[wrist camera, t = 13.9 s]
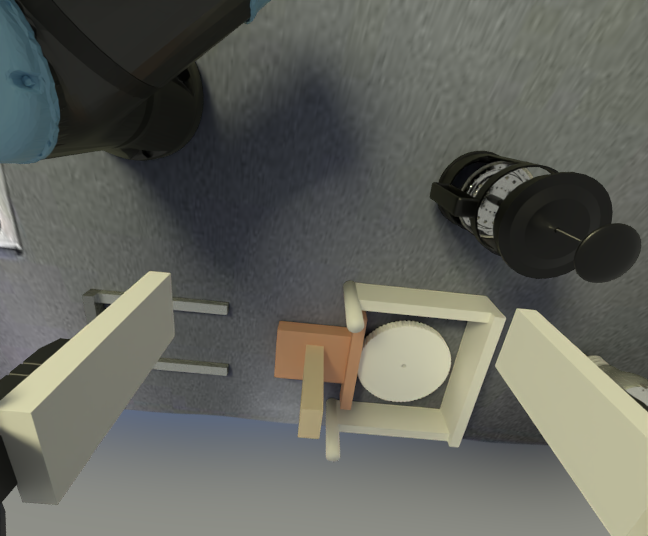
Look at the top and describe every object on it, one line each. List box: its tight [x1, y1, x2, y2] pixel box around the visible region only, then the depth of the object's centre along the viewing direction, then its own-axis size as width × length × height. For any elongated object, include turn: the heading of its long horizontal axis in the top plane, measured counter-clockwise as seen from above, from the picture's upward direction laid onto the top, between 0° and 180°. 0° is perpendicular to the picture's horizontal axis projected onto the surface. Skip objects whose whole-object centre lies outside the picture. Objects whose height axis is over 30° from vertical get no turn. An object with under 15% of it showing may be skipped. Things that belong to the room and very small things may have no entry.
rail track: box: [82, 289, 229, 376], centre depth 51 cm, size 20×12×2 cm, turn 84°
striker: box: [274, 310, 367, 439], centre depth 46 cm, size 12×16×14 cm
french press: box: [430, 151, 641, 283], centre depth 33 cm, size 12×9×23 cm
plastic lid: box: [357, 320, 451, 402], centre depth 53 cm, size 14×14×2 cm
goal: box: [326, 281, 506, 462], centre depth 49 cm, size 20×24×10 cm
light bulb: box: [587, 356, 648, 406], centre depth 48 cm, size 7×7×12 cm
